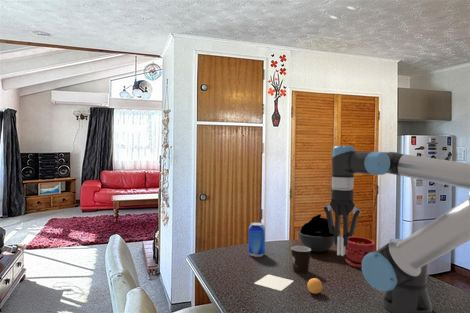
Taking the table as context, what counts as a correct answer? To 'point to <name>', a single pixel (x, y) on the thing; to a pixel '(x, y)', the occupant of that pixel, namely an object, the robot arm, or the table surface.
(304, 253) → the coffee mug
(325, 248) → the bowl of black rocks
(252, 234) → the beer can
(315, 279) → the ball
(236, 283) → the table surface
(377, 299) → the table surface
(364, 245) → the plant pot
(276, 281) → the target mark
